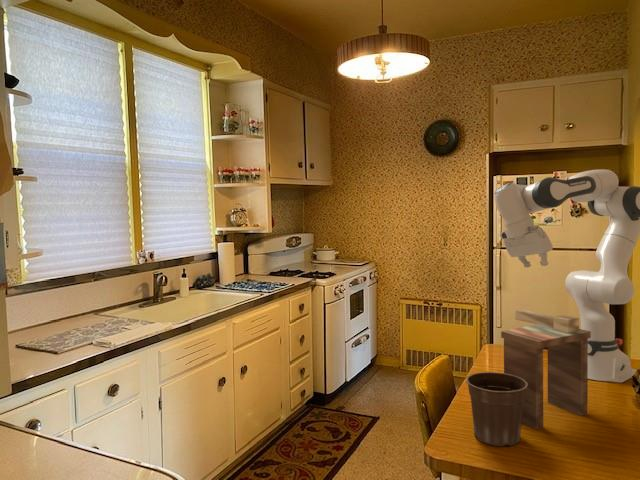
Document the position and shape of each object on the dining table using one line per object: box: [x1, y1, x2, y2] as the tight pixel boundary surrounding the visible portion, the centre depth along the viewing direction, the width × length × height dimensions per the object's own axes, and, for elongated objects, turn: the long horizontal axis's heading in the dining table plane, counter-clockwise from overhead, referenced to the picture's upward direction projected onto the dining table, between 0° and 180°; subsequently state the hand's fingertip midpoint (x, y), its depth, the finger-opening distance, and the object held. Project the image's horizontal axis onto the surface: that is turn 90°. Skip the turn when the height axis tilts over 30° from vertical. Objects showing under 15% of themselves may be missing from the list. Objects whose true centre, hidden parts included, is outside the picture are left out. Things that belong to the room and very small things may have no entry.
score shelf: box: [500, 324, 591, 430], centre depth 151 cm, size 22×14×26 cm, turn 115°
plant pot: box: [465, 371, 528, 447], centre depth 137 cm, size 16×16×16 cm
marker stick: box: [514, 309, 580, 333], centre depth 157 cm, size 5×21×4 cm, turn 25°
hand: (536, 266), depth 168 cm, fingers open, 8 cm apart
